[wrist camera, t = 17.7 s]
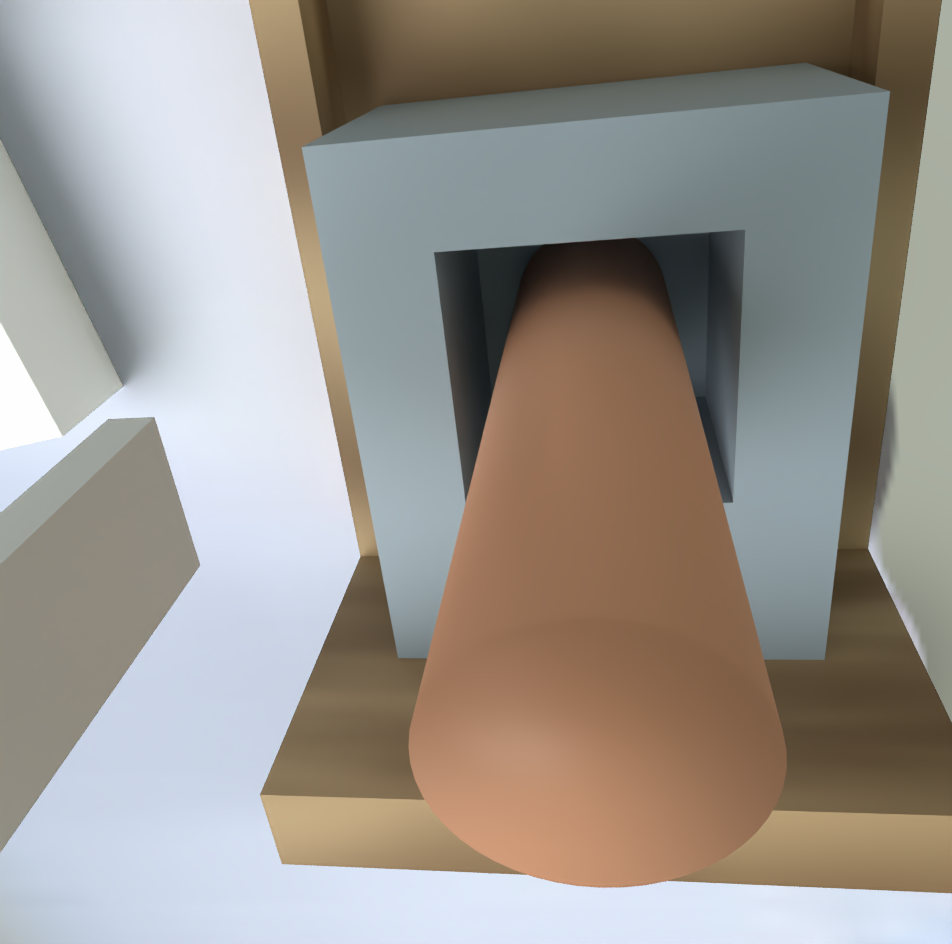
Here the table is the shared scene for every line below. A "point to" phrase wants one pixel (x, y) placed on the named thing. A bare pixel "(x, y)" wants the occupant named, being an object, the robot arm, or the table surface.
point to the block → (686, 277)
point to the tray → (856, 576)
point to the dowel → (596, 604)
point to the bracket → (42, 330)
